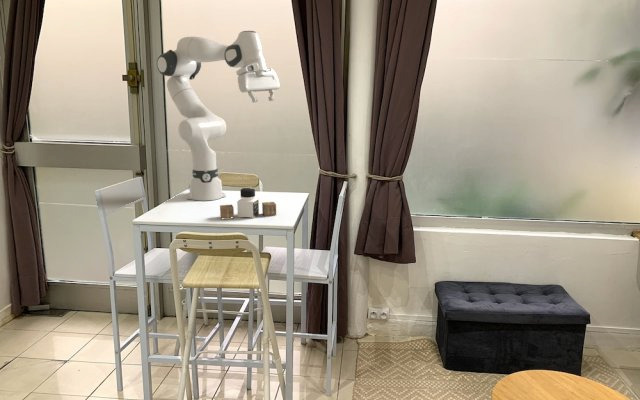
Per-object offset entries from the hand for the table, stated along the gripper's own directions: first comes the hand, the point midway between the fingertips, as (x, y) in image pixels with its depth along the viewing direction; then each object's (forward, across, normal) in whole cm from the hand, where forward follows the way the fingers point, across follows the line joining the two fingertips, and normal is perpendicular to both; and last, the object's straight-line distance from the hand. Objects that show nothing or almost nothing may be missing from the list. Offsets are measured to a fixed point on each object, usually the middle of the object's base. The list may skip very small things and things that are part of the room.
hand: (263, 101), depth 228 cm
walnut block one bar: (+44, +21, -15) cm, 52 cm away
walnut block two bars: (+47, +6, -6) cm, 48 cm away
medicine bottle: (+46, +13, -11) cm, 49 cm away
